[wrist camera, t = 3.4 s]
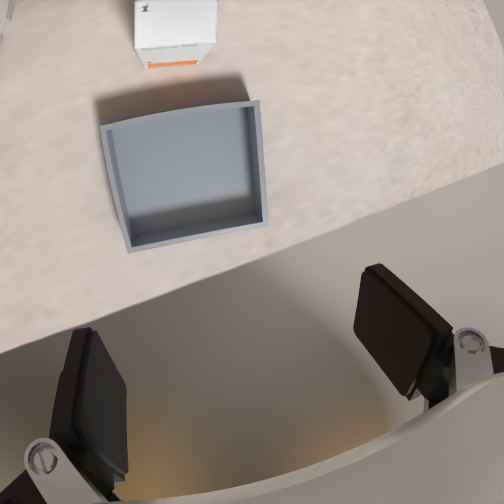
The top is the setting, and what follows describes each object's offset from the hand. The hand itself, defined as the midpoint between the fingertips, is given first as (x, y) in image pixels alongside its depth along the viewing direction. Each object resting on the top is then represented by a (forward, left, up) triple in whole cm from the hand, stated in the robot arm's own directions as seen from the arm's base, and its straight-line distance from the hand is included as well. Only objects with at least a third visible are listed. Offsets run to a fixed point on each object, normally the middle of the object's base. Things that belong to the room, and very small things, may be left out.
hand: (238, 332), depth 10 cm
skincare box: (0, -14, -27) cm, 30 cm away
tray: (0, 0, -26) cm, 26 cm away
